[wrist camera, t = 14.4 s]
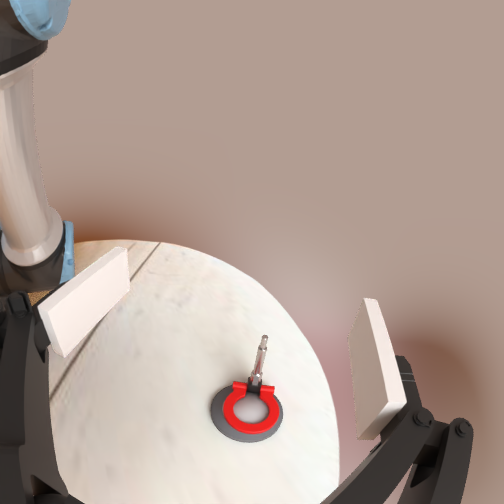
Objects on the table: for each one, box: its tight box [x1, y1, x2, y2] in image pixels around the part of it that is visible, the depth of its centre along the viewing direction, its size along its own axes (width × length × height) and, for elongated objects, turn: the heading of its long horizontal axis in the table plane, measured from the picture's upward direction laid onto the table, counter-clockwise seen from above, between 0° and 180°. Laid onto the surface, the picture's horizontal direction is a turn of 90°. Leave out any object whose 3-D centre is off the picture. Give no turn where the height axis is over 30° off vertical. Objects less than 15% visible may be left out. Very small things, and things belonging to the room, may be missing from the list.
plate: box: [211, 385, 283, 442], centre depth 38 cm, size 11×11×1 cm
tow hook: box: [223, 335, 279, 434], centre depth 35 cm, size 8×13×9 cm
